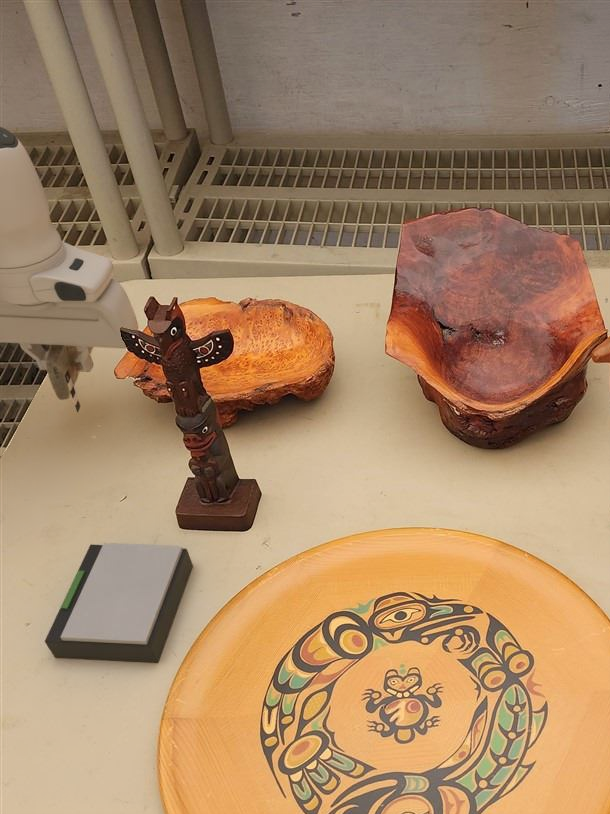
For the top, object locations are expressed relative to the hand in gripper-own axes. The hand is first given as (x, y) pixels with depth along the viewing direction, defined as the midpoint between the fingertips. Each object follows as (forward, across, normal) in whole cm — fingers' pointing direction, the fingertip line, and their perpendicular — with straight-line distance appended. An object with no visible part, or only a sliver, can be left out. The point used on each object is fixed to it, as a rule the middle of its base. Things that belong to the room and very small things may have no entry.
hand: (67, 368), depth 108 cm
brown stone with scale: (+2, 0, 0) cm, 2 cm away
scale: (+9, +15, -30) cm, 35 cm away
